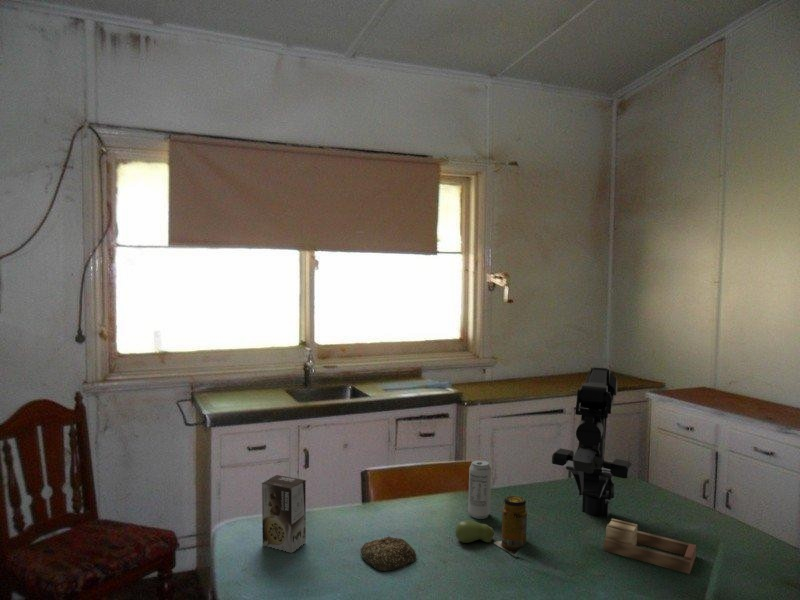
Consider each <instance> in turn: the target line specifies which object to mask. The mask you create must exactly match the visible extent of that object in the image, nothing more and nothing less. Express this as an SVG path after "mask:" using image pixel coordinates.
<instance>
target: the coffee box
mask: <svg viewBox="0 0 800 600" xmlns="http://www.w3.org/2000/svg"><path fill="white" fill-rule="evenodd" d="M306 482H307V481H306V480H305V479H302V478H295V477H290V476H285V475H278V474H276V475H274V476H272V477H270V478H268V479H267V480H265V481H263V482H261V508H262V510H261V511H262V512H261V516H262V517H261V518H262V519H261V520H262V522H261V523H262V526H261V527H262V531H261V532H262V547H265V546H267V547H266V548H269V547H272V548H271V549H273V548H275V549H274V550H277V549H279V550H278V551H281V550H283V551H282V552H285V551H286V552H287V553H291V554H293V553H294V552H295V551H297V550H299V549H300V548H301V547H302V546H304V545H305V544H306V543H305V542H306V539H307V538H306V529H307V528H306V525H307V524H306V516H307V515H306V513H307V512H306V498H307V497H306V492H307V491H306V488H307V487H306ZM304 543H305V544H304ZM303 544H304V545H303ZM301 545H302V546H301ZM300 546H301V547H300ZM299 547H300V548H299ZM296 549H297V550H296Z"/></svg>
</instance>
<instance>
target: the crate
mask: <svg viewBox="0 0 800 600" xmlns="http://www.w3.org/2000/svg"><path fill="white" fill-rule="evenodd" d="M637 531H638V524H637V523H633V522H629V521H624V520H621V519H615V518H611V519H610V521H609V523H607V524H606V528H605V538H609V539H613V540H616V541H620V542H624V543H628V544H632V545H636V546H638V545H637V544H638V543H637Z"/></svg>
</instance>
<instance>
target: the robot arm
mask: <svg viewBox="0 0 800 600" xmlns="http://www.w3.org/2000/svg"><path fill="white" fill-rule="evenodd" d="M576 393H577V395H576V403H575V413H574V414H575V415H577V416H580V421H579V423H578V426H577V428H576V431H575V437H576V439H577V441H578V446H577V450H576V451H575V453H574V451H573V450H570V449H566V448H559V449H557V450H556V451H554V452H553V453H552V455H551V464H552V465H556V466H557V465H558V466H561V467H563V466H564V465H566V464H567V465H566V467H565V469H566V470H567V471H569V472H570V473H571V474H572V475H573V477H574V481H575V482H576V483H575V484H576V486H577V490H578V491H579V492H578V495H579V496H582V502H581V503H582V506H581V507H582V508H581V509H582V510H581V511H582V513H585V514H587V515H588V516H591V517H596V518H597V517H603V518H608V517H609V516H610V513H611V502H610V501H611V500H612V499H614V498H615V484H614V482H613V478H614V477H615V478H618V479H619V478H620V479H628V478H629V477H630V476H631V475H632V473H633V464H632V462H631V461H630V460H629V461H628V460H624V459H619V458H615V459H614V460H613V461H612V462H611V461H606V460H605V457H606V442H607V427H608V418H609V415H612V406H613V404H614V402H615V397H617V395H618V378H617V377H616V376H615V375H614V374H613V373H611V369H609V368H608V367H598V366H597V367H595V366H593V367H591V368H590V372H589V373H588V374H586V378H585V382H583V383H582V384H581V386H580V388H578V389H577V392H576Z"/></svg>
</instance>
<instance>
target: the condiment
mask: <svg viewBox="0 0 800 600" xmlns="http://www.w3.org/2000/svg"><path fill="white" fill-rule="evenodd" d="M503 502H504V504H503V508H502V513H501V536H500V537H501V540H497V541H495V542H493V544H494V545H496V546H497V547H499V548H501V549H502V550H504V551H506V552H507V553H509V554H510V555H512V556H513V557H515V558H517V557H518V556H516V555H515V554H516V553H518V551H519V550H521V548H522V547H523V546H524V545H526V543H527V526H528V525H527V524H528V523H527V522H528V512H527V510H526V509H527V506H526V505H527V504H526V503H527V501H526V499H525V498H524V497H522V496H518V495H508V496H505V498H504V500H503Z"/></svg>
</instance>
